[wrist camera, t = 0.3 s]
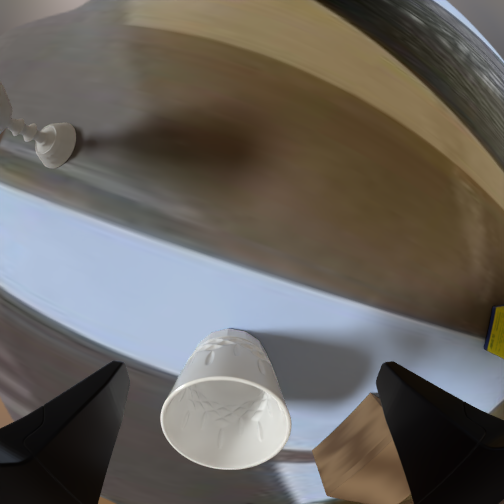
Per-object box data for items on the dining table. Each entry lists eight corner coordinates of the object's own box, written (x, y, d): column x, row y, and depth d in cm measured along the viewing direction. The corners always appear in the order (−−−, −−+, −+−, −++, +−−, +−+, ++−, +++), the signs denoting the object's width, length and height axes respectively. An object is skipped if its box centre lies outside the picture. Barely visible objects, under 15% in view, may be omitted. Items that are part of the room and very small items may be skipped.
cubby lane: (374, 472, 26) (394, 507, 19) (311, 450, 25) (326, 495, 18) (424, 423, 26) (453, 454, 18) (370, 392, 25) (401, 431, 18)
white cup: (205, 307, 24) (182, 355, 14) (288, 340, 24) (314, 400, 14) (176, 378, 24) (148, 445, 14) (253, 407, 25) (258, 480, 15)
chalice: (30, 180, 22) (-101, 153, 4) (39, 122, 22) (-72, 65, 4) (80, 172, 23) (-70, 121, 5) (89, 109, 22) (-25, 18, 4)
